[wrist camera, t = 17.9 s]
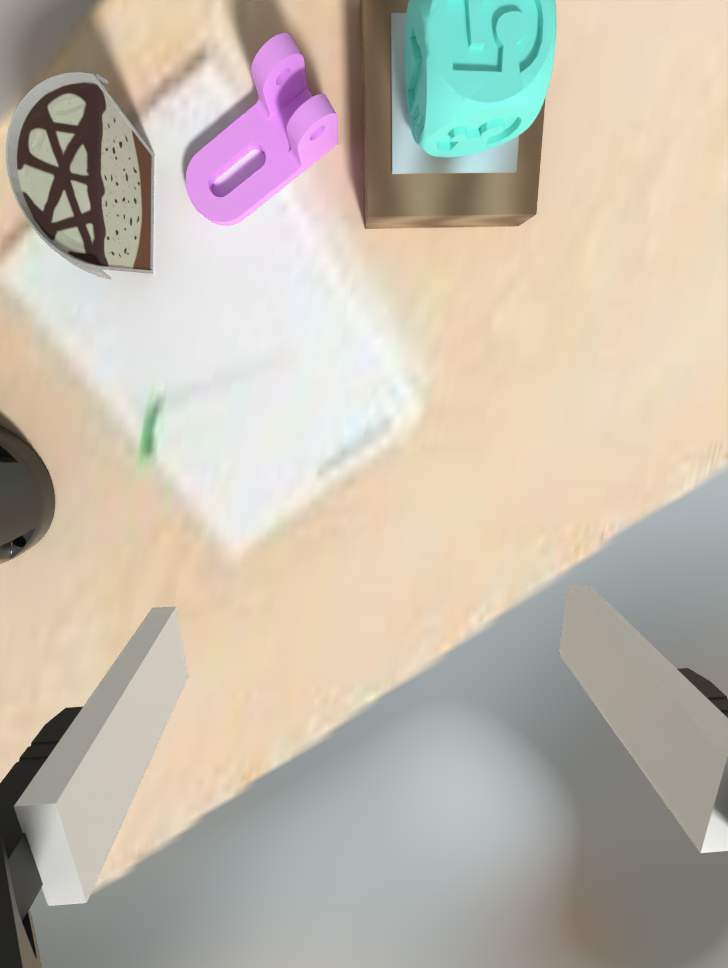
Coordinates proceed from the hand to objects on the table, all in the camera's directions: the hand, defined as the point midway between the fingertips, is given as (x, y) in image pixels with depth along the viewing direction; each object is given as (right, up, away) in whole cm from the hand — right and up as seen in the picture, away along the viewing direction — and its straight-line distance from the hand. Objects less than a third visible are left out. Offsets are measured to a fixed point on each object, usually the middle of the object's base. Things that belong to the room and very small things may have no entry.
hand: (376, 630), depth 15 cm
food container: (-22, +29, +24) cm, 44 cm away
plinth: (+6, +36, +23) cm, 43 cm away
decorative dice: (+7, +35, +19) cm, 40 cm away
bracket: (-10, +33, +24) cm, 42 cm away
